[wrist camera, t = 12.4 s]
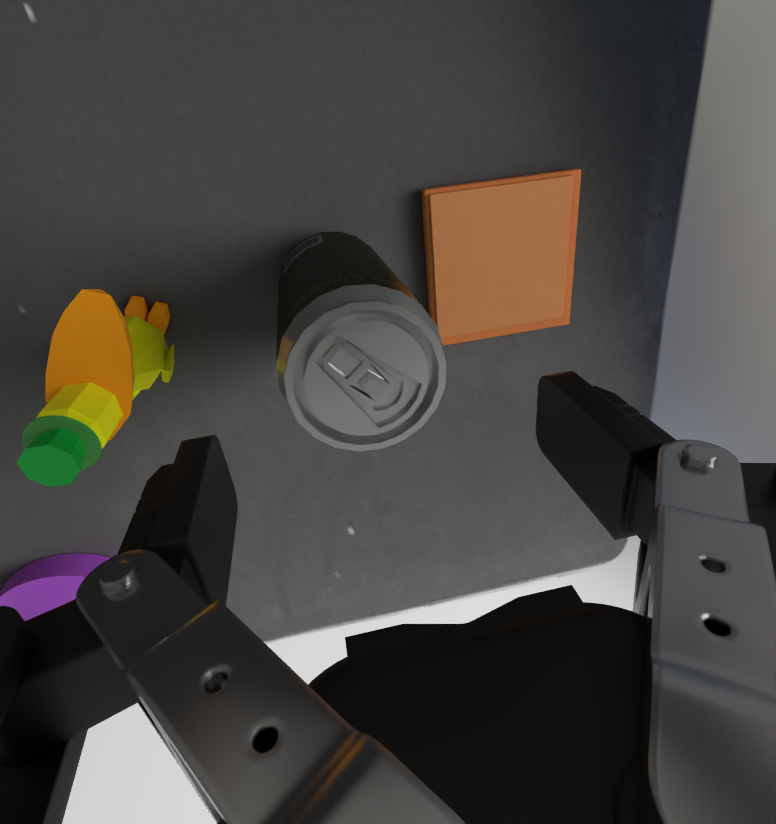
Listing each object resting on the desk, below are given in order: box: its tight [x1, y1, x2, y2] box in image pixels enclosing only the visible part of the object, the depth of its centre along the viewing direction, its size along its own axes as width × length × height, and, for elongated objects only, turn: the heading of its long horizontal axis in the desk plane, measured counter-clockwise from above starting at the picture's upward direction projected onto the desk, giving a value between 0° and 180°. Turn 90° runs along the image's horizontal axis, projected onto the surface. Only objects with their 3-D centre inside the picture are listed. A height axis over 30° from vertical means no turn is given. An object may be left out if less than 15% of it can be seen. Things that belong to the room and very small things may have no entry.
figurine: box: [0, 553, 110, 621], centre depth 24 cm, size 9×9×18 cm
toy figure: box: [17, 289, 174, 487], centre depth 19 cm, size 7×4×12 cm, turn 163°
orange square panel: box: [421, 169, 581, 346], centre depth 26 cm, size 8×8×1 cm
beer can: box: [276, 232, 446, 451], centre depth 20 cm, size 5×5×12 cm
